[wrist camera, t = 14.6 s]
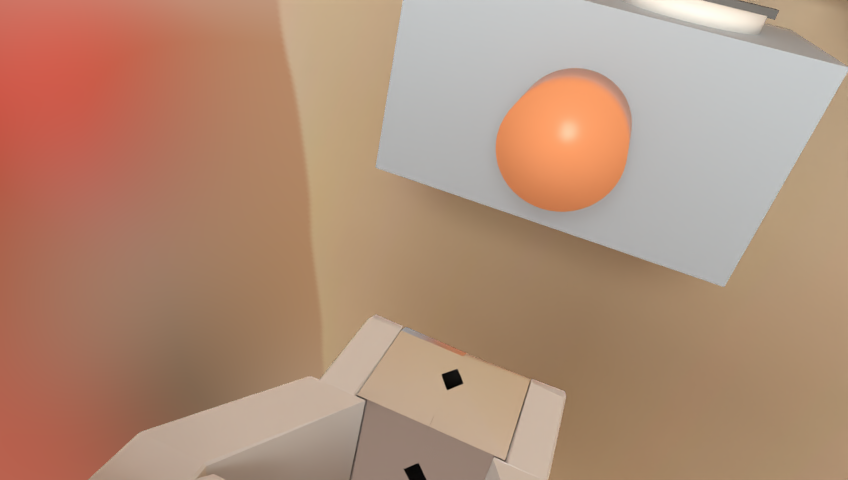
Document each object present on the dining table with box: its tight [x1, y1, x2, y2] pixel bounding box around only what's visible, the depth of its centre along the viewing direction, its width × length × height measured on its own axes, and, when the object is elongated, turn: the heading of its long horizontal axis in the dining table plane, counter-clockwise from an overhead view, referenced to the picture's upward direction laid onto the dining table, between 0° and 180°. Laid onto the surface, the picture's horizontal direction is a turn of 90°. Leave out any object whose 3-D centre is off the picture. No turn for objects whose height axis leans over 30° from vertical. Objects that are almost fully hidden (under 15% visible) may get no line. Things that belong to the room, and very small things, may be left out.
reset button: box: [496, 68, 632, 212], centre depth 19 cm, size 4×4×3 cm
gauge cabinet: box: [376, 0, 848, 287], centre depth 24 cm, size 14×9×9 cm, turn 79°
